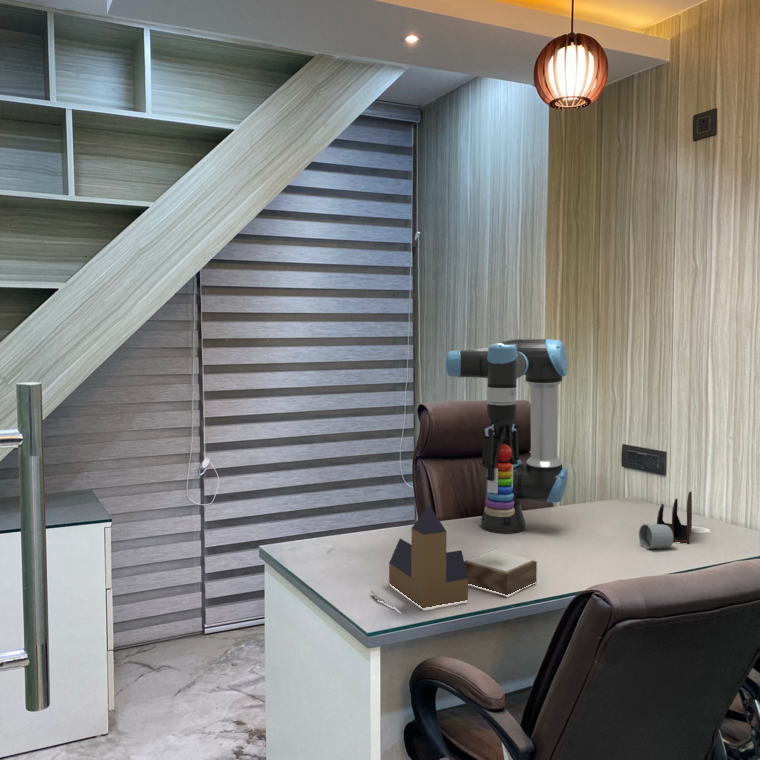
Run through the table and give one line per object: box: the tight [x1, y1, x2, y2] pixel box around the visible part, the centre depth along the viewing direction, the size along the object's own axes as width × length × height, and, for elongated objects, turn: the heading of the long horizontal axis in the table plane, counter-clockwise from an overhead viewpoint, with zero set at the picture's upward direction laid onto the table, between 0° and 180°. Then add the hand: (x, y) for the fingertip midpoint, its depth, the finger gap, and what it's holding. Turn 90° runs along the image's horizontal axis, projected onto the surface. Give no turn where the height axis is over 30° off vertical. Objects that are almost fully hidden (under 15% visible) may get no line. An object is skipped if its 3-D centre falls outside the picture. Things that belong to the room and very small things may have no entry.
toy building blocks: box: [388, 504, 469, 608], centre depth 181 cm, size 12×19×25 cm, turn 25°
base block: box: [464, 550, 538, 595], centre depth 189 cm, size 14×14×6 cm
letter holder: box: [656, 491, 693, 545], centre depth 236 cm, size 10×20×14 cm, turn 154°
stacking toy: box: [483, 443, 515, 517], centre depth 188 cm, size 8×8×19 cm
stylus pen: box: [370, 589, 395, 607], centre depth 175 cm, size 15×3×2 cm, turn 31°
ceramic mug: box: [638, 523, 674, 550], centre depth 223 cm, size 11×8×8 cm
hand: (500, 490), depth 188 cm, fingers closed on stacking toy, 6 cm apart
